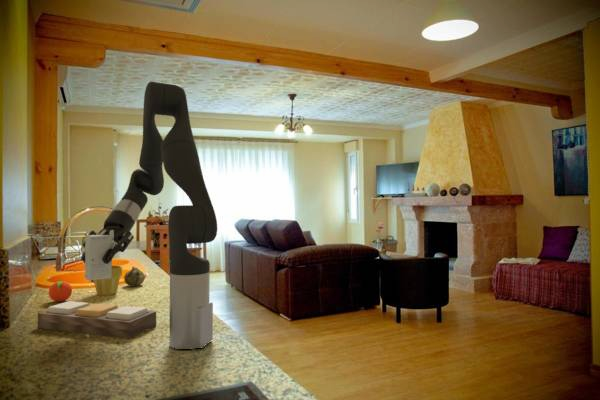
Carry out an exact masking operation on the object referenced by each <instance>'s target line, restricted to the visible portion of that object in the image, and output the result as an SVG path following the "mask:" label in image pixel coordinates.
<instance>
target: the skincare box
mask: <svg viewBox="0 0 600 400" xmlns="http://www.w3.org/2000/svg"><path fill="white" fill-rule="evenodd" d="M84 237H85V239H84V242H85V248H84V252H85V263H84V279H85V280H86V281H94V280H97V279H108V278H111V277H112V265H113V262H112V261H113V259H112V260H111V261H110V262H109V263H108V264H105V263H104V262H103V261H102V258H103V256H104V255H105V253H106V252H107V250H108V249H110V244H111V243H112V242H111V241H112V235H89V234H87V235H85V236H84Z"/></svg>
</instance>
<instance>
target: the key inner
mask: <svg viewBox="0 0 600 400" xmlns="http://www.w3.org/2000/svg"><path fill="white" fill-rule="evenodd" d="M117 308H118V309H115V310H112V311H110V312H107V318H112V319H122V320H132V319H135V318H137V317H140V316H142V315H145V314H147V311H148V307H141V306H129V305H128V306H127V305H124V306H121V307H117Z"/></svg>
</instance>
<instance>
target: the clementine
mask: <svg viewBox="0 0 600 400" xmlns="http://www.w3.org/2000/svg"><path fill="white" fill-rule="evenodd" d="M72 293H73V288H72V285H71V283H69V282H67V281H64V280H60V281H56V282H54V283H52V285H50V287H49V289H48V296H49V298H50V299H51V300H52V301H54V302H56V303H57V302H58V303H63V302H65V301H67V300H68V299H69V298H70V297H71V296H72Z"/></svg>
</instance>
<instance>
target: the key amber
mask: <svg viewBox="0 0 600 400" xmlns="http://www.w3.org/2000/svg"><path fill="white" fill-rule="evenodd" d="M89 305H90V306H87V307H84V308H81V309H78V310H77V315H81V316H91V317H101V316H104V315H107V312H110V311H112V310H115V309H117V308H119V306H118V305H116V304H108V303H107V304H105V303H94V304H89Z"/></svg>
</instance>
